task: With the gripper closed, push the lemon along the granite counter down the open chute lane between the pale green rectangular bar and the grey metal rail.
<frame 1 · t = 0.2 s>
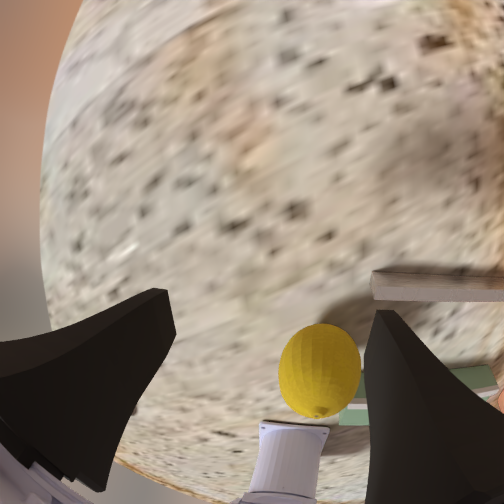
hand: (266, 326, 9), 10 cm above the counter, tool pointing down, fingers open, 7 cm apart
lemon: (321, 330, 21), on the counter
pale green rectangular bar: (420, 386, 21), on the counter
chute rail: (464, 282, 16), on the counter
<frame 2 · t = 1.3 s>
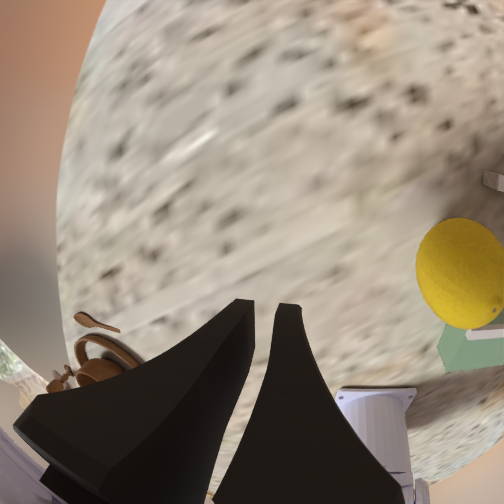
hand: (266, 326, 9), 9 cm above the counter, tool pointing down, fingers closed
lemon: (436, 242, 16), on the counter
place setting: (95, 358, 31), on the counter
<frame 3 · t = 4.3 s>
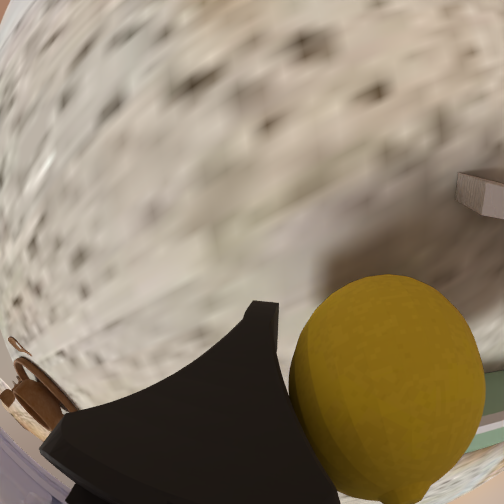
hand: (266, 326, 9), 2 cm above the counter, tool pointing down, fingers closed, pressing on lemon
lemon: (363, 301, 10), on the counter, touching gripper
pale green rectangular bar: (490, 394, 11), on the counter
place setting: (35, 376, 26), on the counter
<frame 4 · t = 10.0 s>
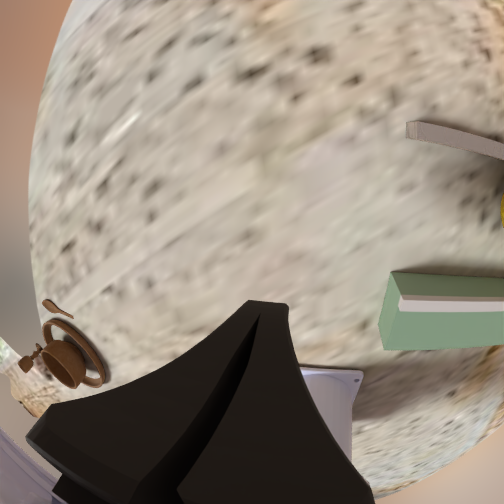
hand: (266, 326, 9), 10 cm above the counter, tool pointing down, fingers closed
lemon: (500, 213, 11), point 3 cm above the counter, touching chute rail
pale green rectangular bar: (470, 301, 17), on the counter
place setting: (60, 340, 33), on the counter
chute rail: (500, 152, 12), on the counter
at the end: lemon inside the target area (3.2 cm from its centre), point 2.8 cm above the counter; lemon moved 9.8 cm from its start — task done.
